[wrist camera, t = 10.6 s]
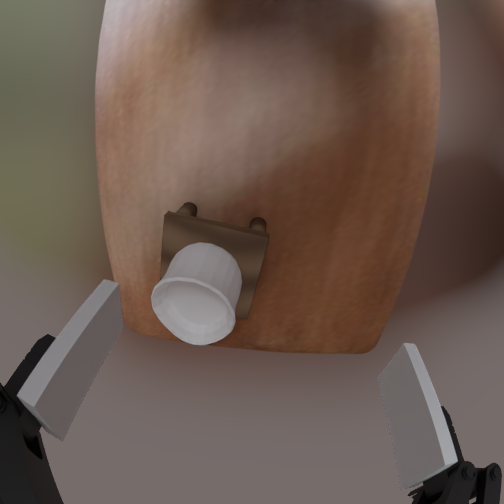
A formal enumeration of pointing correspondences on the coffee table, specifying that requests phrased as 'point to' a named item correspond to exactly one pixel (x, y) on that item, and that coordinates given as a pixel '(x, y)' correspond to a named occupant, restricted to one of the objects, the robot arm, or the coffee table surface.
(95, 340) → the robot arm
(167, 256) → the footstool
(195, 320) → the cup
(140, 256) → the coffee table surface
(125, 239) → the coffee table surface
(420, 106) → the coffee table surface
